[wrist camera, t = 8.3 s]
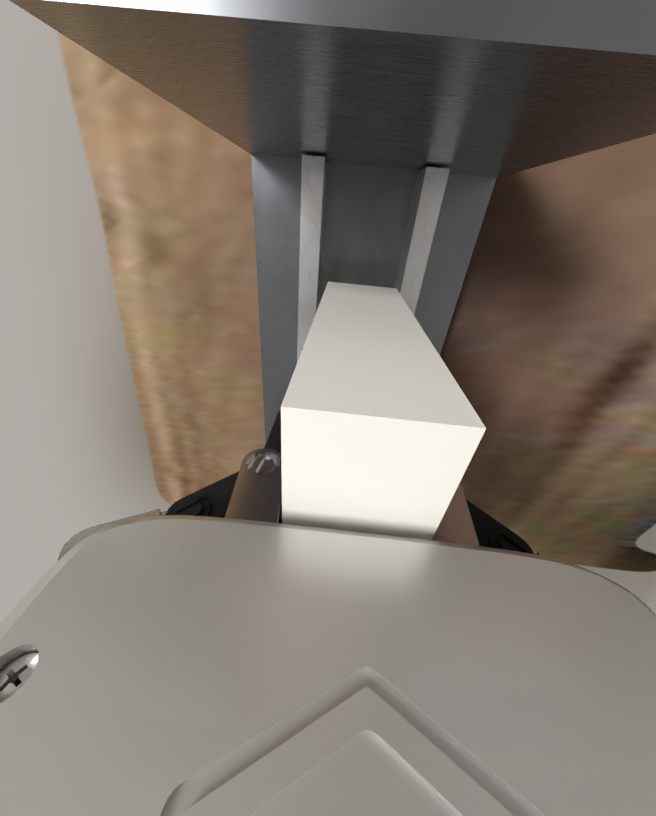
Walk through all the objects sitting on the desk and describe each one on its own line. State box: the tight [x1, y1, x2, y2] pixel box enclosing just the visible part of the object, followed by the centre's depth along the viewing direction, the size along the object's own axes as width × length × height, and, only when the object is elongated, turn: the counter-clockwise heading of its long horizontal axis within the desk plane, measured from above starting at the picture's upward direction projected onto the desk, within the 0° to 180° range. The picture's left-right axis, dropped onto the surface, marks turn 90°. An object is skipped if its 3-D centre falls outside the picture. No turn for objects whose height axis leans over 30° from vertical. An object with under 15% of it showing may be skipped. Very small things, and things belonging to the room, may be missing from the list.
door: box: [281, 282, 486, 540], centre depth 11 cm, size 10×3×10 cm, turn 175°
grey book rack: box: [10, 0, 656, 443], centre depth 15 cm, size 22×12×13 cm, turn 175°
